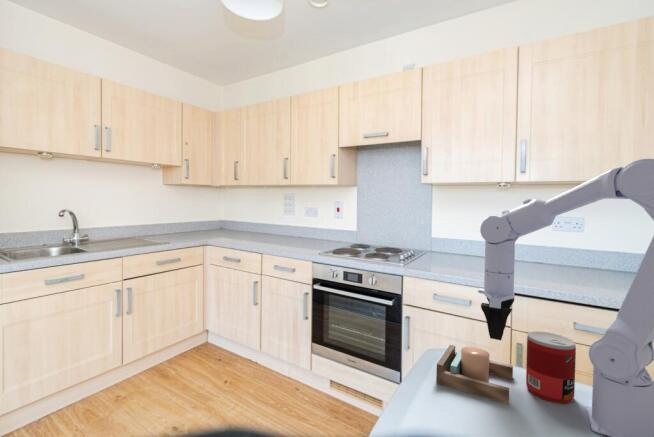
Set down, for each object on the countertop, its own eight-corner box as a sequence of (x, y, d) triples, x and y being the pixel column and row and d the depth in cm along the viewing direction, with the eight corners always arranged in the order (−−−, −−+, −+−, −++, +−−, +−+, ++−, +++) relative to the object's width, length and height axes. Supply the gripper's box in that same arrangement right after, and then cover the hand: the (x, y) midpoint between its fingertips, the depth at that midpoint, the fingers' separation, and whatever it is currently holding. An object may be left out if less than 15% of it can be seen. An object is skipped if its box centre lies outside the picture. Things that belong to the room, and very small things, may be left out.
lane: (512, 377, 71) (513, 358, 71) (508, 404, 60) (509, 382, 60) (449, 361, 78) (450, 344, 78) (436, 383, 68) (436, 363, 68)
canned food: (574, 409, 59) (576, 349, 59) (523, 394, 64) (525, 338, 64) (574, 391, 65) (575, 337, 65) (527, 379, 70) (529, 328, 70)
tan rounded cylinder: (464, 371, 73) (465, 344, 73) (491, 379, 70) (492, 351, 70) (457, 380, 69) (458, 352, 69) (485, 389, 66) (486, 360, 65)
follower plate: (464, 367, 75) (464, 351, 75) (456, 384, 67) (456, 366, 67) (458, 365, 75) (459, 350, 75) (450, 382, 68) (450, 365, 68)
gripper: (483, 265, 79) (482, 321, 79) (473, 274, 67) (472, 339, 67) (516, 268, 75) (515, 327, 75) (513, 278, 63) (511, 347, 63)
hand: (497, 333), depth 71 cm, fingers open, 7 cm apart
